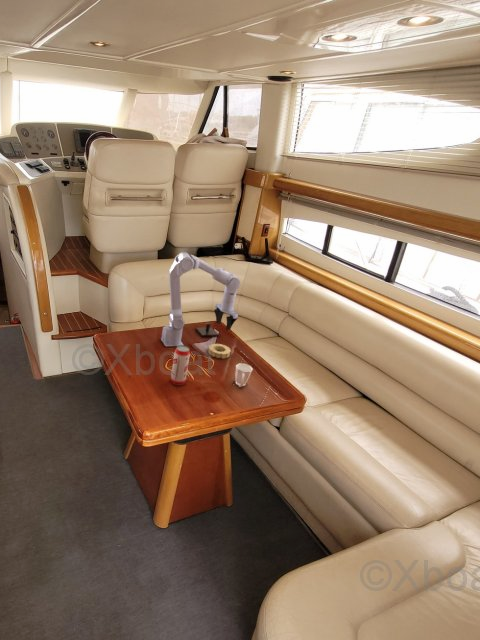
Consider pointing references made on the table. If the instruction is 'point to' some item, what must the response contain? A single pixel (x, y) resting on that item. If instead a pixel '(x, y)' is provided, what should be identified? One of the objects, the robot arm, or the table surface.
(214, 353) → the yellow gear ring
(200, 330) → the stand
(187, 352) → the beer can
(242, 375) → the cup
